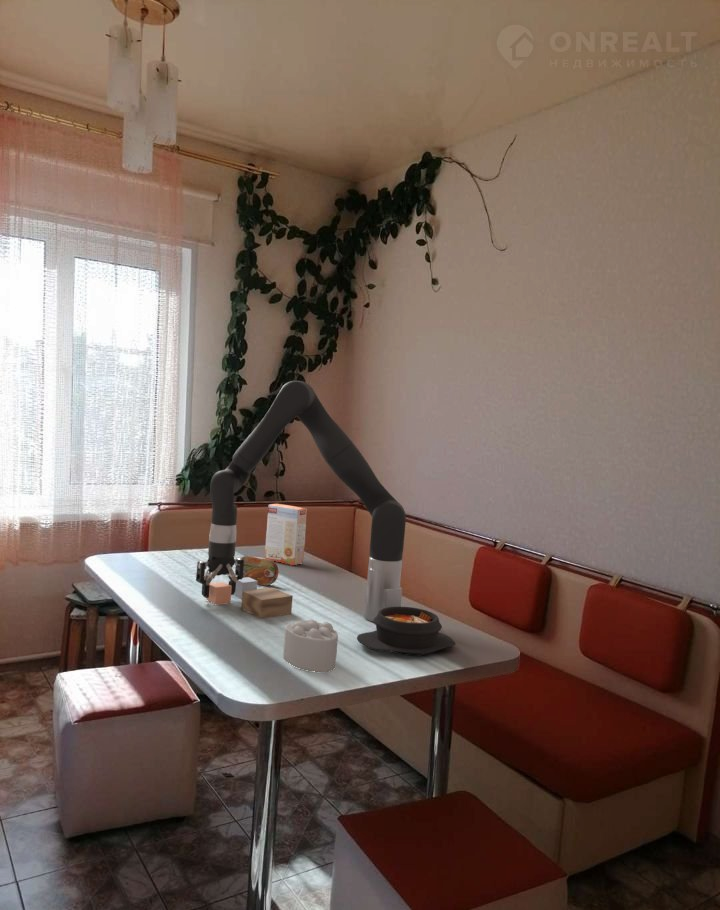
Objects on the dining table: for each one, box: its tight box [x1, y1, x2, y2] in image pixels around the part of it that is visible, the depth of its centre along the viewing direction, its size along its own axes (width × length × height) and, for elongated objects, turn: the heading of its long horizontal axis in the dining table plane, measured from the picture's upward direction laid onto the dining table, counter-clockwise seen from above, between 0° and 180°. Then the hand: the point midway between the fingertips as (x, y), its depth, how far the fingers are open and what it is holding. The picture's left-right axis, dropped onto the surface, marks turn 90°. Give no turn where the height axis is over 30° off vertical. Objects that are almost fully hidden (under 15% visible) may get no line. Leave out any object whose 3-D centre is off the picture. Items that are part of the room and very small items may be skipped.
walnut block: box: [240, 587, 294, 619], centre depth 198 cm, size 10×10×5 cm
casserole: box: [356, 606, 456, 656], centre depth 176 cm, size 25×19×8 cm
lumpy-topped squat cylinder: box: [282, 619, 339, 673], centre depth 161 cm, size 10×13×9 cm
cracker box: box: [264, 503, 308, 566], centre depth 262 cm, size 14×6×21 cm, turn 58°
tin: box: [241, 555, 279, 587], centre depth 228 cm, size 15×3×8 cm, turn 62°
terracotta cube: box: [205, 581, 232, 605], centre depth 204 cm, size 5×5×5 cm
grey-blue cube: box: [233, 577, 258, 600], centre depth 212 cm, size 5×5×5 cm
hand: (218, 595), depth 204 cm, fingers open, 7 cm apart
